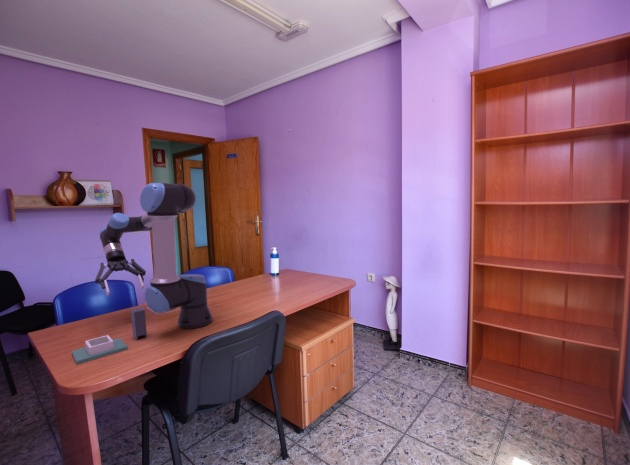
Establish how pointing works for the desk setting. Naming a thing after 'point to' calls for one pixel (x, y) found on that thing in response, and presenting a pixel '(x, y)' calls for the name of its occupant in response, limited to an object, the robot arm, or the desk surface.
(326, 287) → the desk surface
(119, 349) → the board
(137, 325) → the block
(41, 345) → the desk surface
